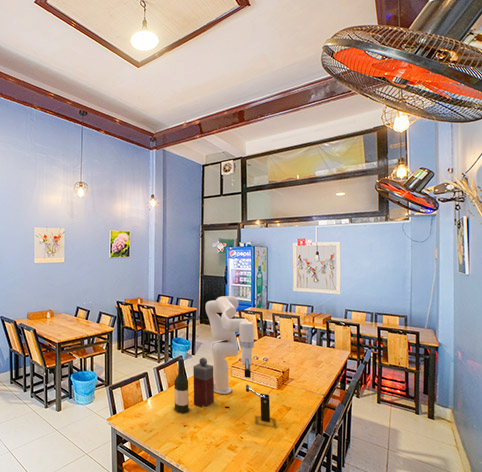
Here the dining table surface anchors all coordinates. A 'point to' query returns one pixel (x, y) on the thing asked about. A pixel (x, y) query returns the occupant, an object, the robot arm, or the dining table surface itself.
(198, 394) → the square decanter
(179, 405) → the wine bottle
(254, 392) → the faucet lever
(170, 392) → the dining table surface
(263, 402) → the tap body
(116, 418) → the dining table surface
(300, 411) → the dining table surface
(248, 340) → the robot arm
